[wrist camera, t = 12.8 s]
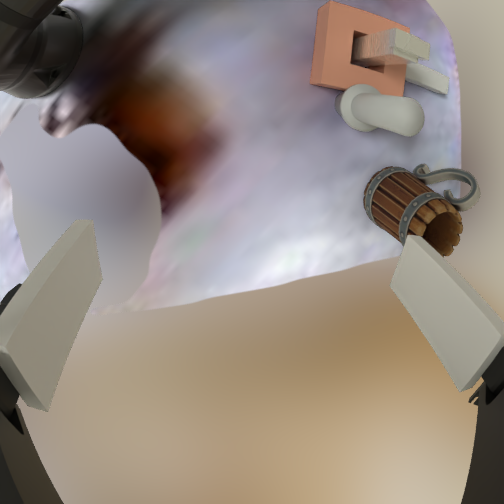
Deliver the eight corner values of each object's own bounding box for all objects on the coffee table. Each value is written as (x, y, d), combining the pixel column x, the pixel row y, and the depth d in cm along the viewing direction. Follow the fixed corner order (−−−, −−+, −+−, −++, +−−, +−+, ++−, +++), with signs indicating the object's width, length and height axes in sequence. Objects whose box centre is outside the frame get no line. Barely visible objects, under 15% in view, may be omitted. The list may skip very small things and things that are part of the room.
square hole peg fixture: (305, 118, 38) (351, 135, 25) (318, 9, 30) (368, -26, 16) (426, 146, 41) (493, 175, 28) (440, 53, 33) (510, 56, 19)
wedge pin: (338, 60, 34) (394, 51, 21) (340, 41, 33) (396, 24, 20) (365, 68, 35) (428, 65, 22) (367, 48, 33) (430, 39, 20)
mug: (382, 235, 49) (427, 284, 36) (349, 195, 45) (396, 240, 32) (440, 177, 45) (496, 211, 32) (413, 132, 40) (476, 155, 27)
